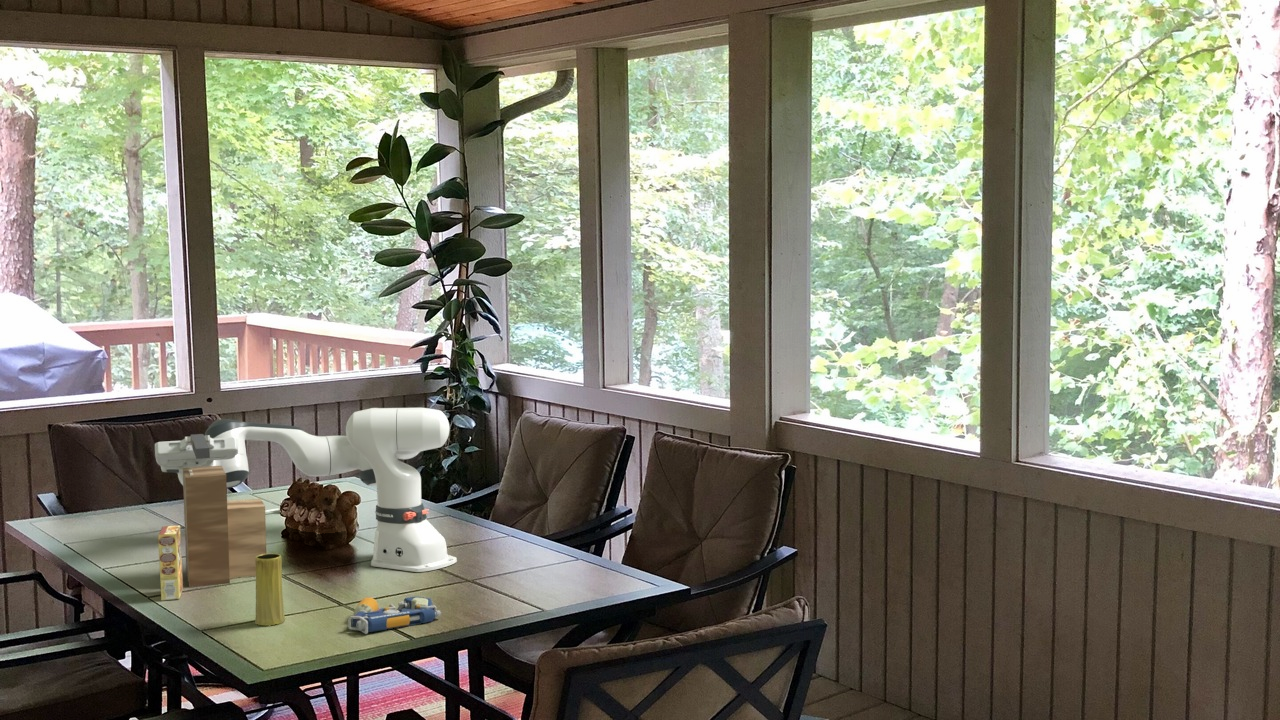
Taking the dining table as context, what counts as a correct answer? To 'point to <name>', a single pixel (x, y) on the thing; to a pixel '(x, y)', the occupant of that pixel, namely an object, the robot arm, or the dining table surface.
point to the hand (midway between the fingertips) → (197, 438)
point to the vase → (269, 589)
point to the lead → (200, 446)
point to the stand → (219, 529)
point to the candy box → (170, 562)
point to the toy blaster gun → (392, 614)
